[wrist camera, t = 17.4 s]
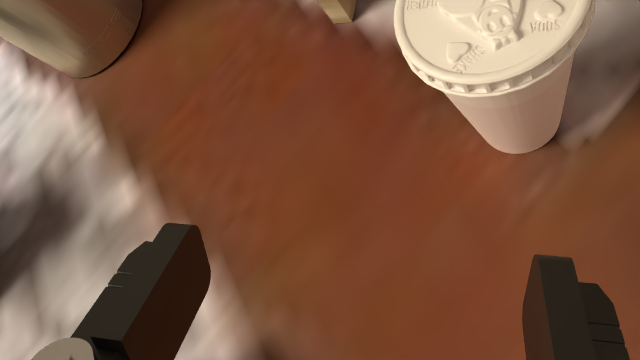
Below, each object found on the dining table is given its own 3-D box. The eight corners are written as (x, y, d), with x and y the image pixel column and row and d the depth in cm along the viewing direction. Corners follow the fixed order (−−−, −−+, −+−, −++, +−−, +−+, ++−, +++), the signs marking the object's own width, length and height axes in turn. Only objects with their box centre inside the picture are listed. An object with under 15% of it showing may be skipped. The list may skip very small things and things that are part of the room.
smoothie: (560, 37, 26) (535, -249, 14) (619, 150, 23) (650, -87, 11) (435, 91, 28) (321, -120, 16) (476, 200, 25) (374, 45, 13)
